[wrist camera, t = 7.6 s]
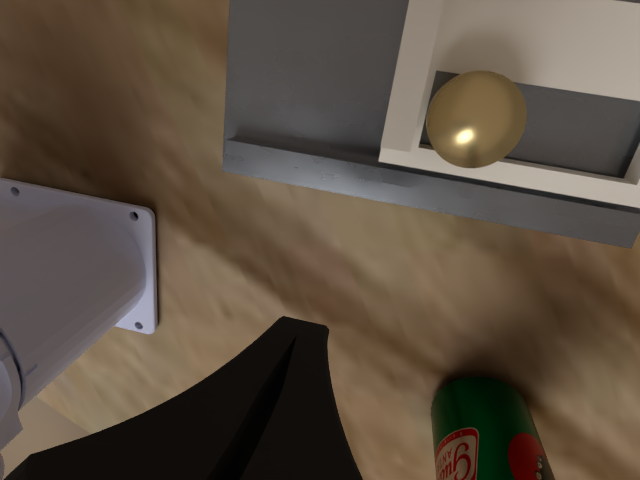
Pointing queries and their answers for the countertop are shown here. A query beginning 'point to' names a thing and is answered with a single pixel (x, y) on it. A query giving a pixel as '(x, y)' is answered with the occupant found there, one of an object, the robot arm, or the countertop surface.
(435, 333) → the countertop surface
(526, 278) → the countertop surface
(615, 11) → the panel
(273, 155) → the boss plate
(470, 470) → the soda can
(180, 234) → the countertop surface
